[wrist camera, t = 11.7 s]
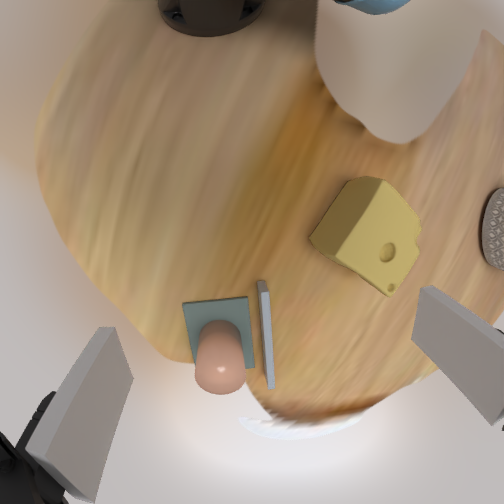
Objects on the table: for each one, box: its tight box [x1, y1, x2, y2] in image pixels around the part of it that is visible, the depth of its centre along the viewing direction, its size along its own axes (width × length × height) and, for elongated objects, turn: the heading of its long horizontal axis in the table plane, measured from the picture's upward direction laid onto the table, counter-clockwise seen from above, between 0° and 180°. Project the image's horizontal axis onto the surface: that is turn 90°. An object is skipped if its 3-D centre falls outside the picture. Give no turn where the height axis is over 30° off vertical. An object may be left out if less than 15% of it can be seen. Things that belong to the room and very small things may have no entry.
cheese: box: [309, 176, 422, 297], centre depth 33 cm, size 10×11×10 cm
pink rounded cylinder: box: [195, 320, 246, 395], centre depth 35 cm, size 6×6×9 cm
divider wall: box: [257, 281, 275, 390], centre depth 39 cm, size 16×1×4 cm, turn 5°
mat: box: [182, 296, 255, 369], centre depth 40 cm, size 12×9×1 cm
